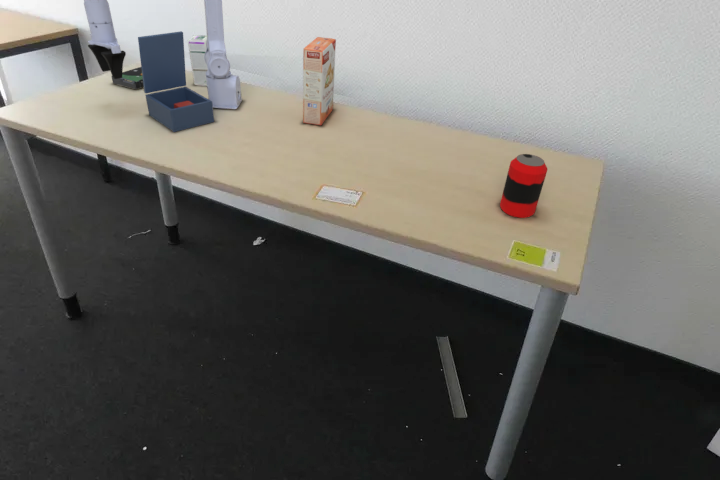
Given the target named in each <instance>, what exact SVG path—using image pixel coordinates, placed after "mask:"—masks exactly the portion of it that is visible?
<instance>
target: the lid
mask: <svg viewBox="0 0 720 480" xmlns="http://www.w3.org/2000/svg"><path fill="white" fill-rule="evenodd" d="M184 40H185V39H184V32H183V31H174V32H167V33H166V32H165V33H158V34H151V35H143V36H138V37H137V42H138V50H139V59H140V60H139V61H140V67H141V68H142V77H143V85H144V87H143V92H144V94H151V93H156V92H161V91H166V90H171V89H176V88H181V87H187V76H186V58H185V41H184Z"/></svg>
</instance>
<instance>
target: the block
mask: <svg viewBox="0 0 720 480" xmlns="http://www.w3.org/2000/svg"><path fill="white" fill-rule="evenodd" d="M192 104H193V103H192V102H190V101H184V102H180V103H175V104H174V109H175V108H179V107H183V106H188V105H192Z"/></svg>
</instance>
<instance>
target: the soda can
mask: <svg viewBox="0 0 720 480" xmlns="http://www.w3.org/2000/svg"><path fill="white" fill-rule="evenodd" d="M547 173H548V167H547V165H546V162H545V160H544V159H543V158H542V157H540V156H538V155H534V154H530V153H521V154H518V155H517V156H516V157H514V158H513V159H512V160H511V161H510V162H509V166H508V171H507V175H506V179H505V183H504V187H503V190H502V195H501V199H500V203H499V207H500V209H501V210H502V211H503V212H504V213H505V214H506V215H508V216H511V217H514V218H519V219H527V218H530V217H532V216H533V215H535V213H536V210H537V206H538V204H539V200H540V196H541V193H542V190H543V187H544V184H545V183H544V182H545V180H546V176H547Z"/></svg>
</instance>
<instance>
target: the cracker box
mask: <svg viewBox="0 0 720 480" xmlns="http://www.w3.org/2000/svg"><path fill="white" fill-rule="evenodd" d="M336 41H337V40H336V38H331V37H322V36H316V37H315V39H313V40H312V41H310V42H309V43H308V44H307V45H306V46H305V47H303V50H302V51H303V53H302V54H303V55H302V67H303V68H302V74H303V75H302V123H303V124H307V125H308V124H309V125H316V126H322V125H323V123H325V121H326V119H327V118H328V117H329V115H330V114H331V112H332V111H333V110H334V97H335V96H334V93H335V70H336V69H335V66H336V46H337V45H336V44H337V42H336Z"/></svg>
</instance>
